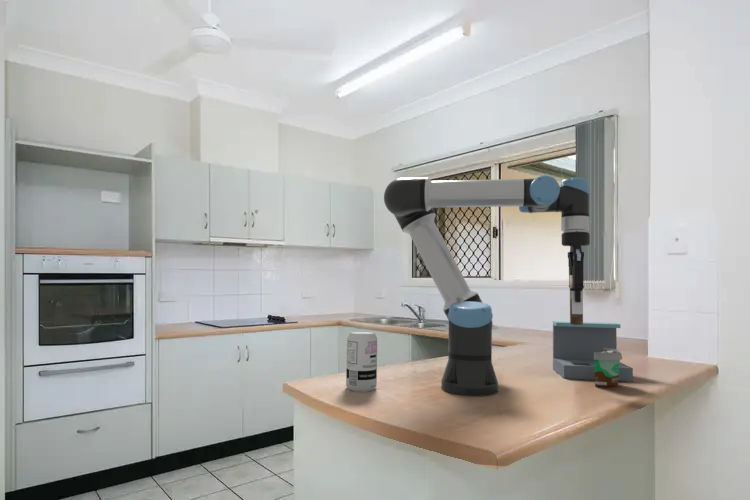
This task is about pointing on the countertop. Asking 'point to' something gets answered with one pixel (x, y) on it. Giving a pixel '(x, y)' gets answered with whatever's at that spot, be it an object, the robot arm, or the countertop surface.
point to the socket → (583, 349)
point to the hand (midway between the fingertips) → (576, 313)
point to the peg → (574, 318)
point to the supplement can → (361, 361)
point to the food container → (607, 368)
